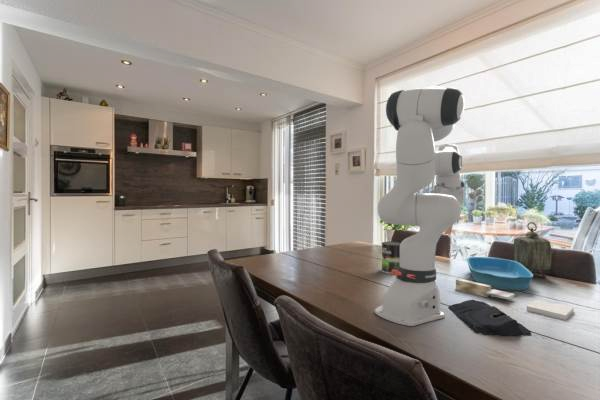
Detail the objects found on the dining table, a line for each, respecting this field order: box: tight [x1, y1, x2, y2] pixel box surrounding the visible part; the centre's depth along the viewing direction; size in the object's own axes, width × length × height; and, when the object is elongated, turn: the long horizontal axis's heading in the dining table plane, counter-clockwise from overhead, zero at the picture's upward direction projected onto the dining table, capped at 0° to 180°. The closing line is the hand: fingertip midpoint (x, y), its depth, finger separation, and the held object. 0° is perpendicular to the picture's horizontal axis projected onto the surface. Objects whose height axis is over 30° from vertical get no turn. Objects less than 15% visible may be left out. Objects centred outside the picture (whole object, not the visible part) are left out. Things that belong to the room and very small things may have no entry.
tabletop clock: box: [512, 221, 552, 279], centre depth 145 cm, size 14×9×25 cm, turn 171°
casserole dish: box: [466, 256, 534, 291], centre depth 137 cm, size 37×22×7 cm, turn 157°
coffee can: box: [381, 241, 401, 275], centre depth 152 cm, size 10×10×14 cm
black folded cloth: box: [447, 299, 532, 338], centre depth 95 cm, size 15×22×5 cm
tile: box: [526, 299, 575, 321], centre depth 101 cm, size 2×10×10 cm
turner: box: [455, 278, 515, 300], centre depth 118 cm, size 19×6×4 cm, turn 37°
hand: (447, 216), depth 131 cm, fingers open, 8 cm apart
